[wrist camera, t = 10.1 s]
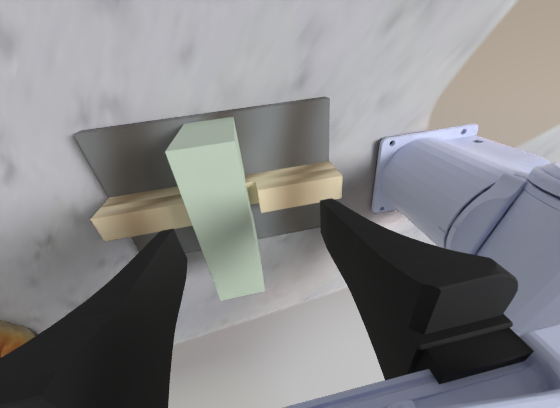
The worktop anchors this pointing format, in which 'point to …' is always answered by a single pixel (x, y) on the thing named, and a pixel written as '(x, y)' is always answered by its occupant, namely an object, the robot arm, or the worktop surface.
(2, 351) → the pastry
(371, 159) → the worktop surface
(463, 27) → the worktop surface
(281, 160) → the joint board
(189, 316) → the worktop surface
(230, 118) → the pale green block
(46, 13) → the worktop surface
